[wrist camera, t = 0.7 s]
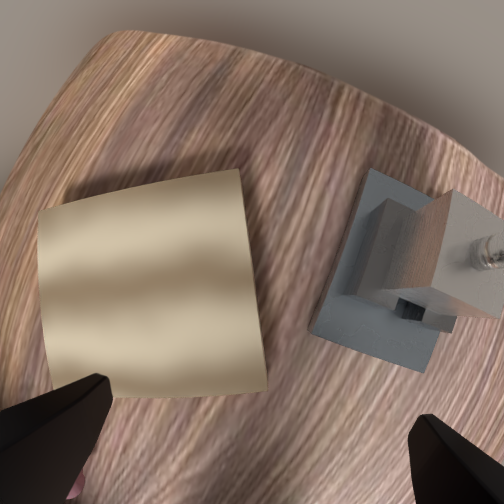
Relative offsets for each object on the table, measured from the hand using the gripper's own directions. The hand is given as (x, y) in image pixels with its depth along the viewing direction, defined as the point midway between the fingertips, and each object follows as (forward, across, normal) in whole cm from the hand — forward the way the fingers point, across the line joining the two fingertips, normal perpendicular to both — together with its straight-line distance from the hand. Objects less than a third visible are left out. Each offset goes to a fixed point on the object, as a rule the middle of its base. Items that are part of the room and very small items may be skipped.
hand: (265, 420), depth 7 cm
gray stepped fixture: (+15, -10, 0) cm, 18 cm away
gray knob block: (+10, -9, -2) cm, 14 cm away
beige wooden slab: (+13, +9, +3) cm, 16 cm away
